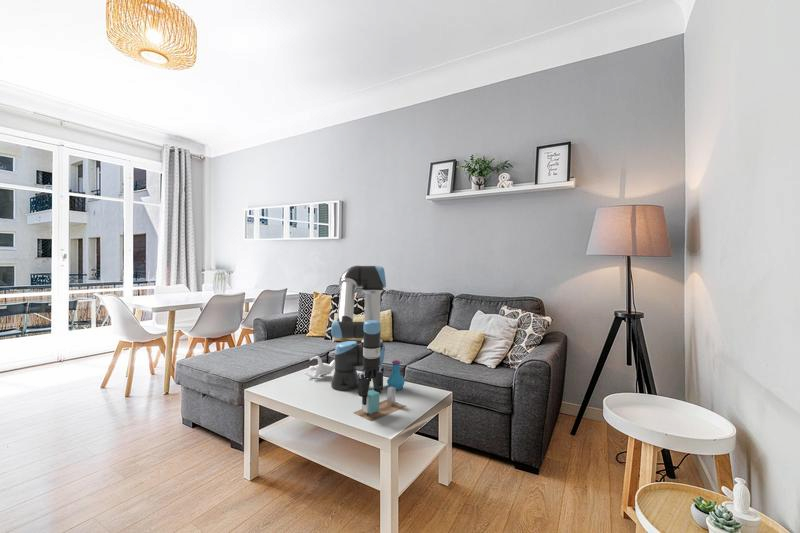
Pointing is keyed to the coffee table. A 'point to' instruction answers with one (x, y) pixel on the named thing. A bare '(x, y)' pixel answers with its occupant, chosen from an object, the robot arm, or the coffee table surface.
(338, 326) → the robot arm
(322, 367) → the white branched piece
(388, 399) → the post
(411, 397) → the coffee table surface
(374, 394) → the teal rectangular prism
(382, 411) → the board
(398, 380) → the perfume bottle
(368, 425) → the coffee table surface
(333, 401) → the coffee table surface
